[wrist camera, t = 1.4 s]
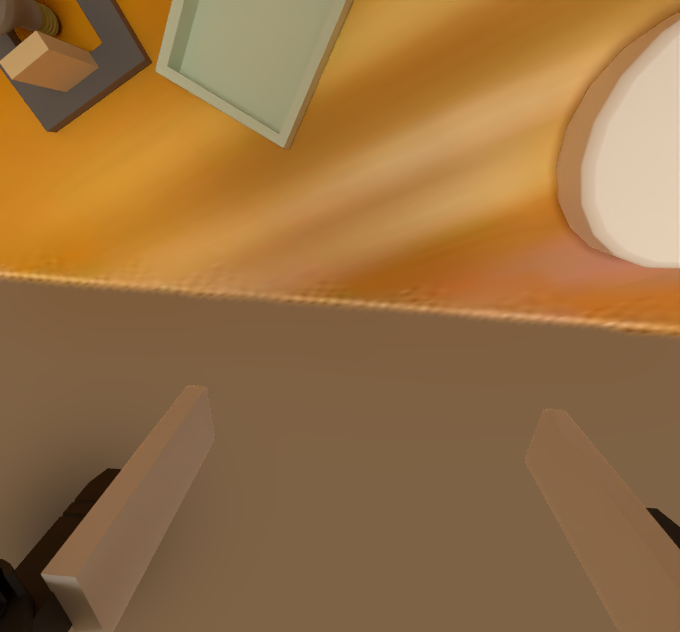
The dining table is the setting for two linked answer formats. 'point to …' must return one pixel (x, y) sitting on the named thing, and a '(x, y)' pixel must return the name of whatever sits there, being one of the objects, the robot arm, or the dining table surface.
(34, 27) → the light bulb
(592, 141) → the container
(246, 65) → the parts tray
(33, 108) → the frame
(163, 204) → the dining table surface
